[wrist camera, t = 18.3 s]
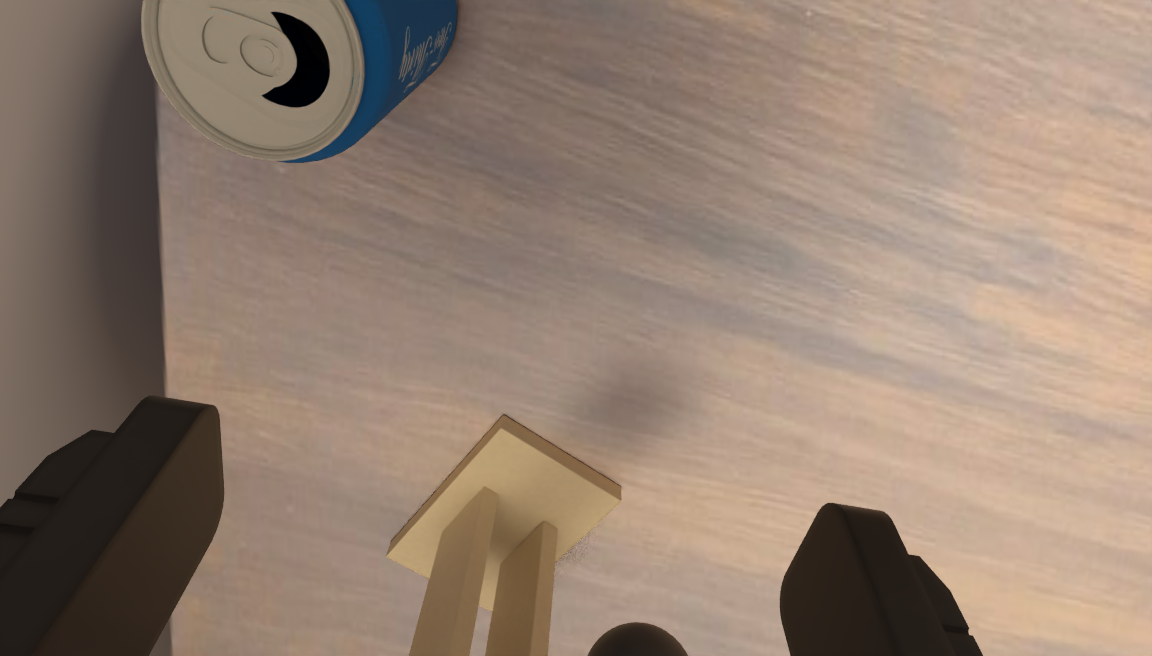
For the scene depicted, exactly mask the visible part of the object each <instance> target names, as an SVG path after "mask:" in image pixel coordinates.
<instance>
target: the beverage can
mask: <svg viewBox="0 0 1152 656" xmlns="http://www.w3.org/2000/svg"><path fill="white" fill-rule="evenodd" d="M456 23H457V3H456V0H143V3H142V12H141V27H142V28H141V29H142V37H143V44H144V48H145V52H146V55H147V59H148V62H149V65H150V67H151V70H152V72H153V75H154V77H155V79H156V81H157V83H158V84H159V86H160V88H161V90H162V91H163V93H164V94H165V96H166V97H167V99H168V100H169V102H170V103H171V105H172V106H173V107H174V108H175V109H176V111H177V112H178V113H179V114H180V115H181V116H182V117H183V118H184V119H185V120H186V121H187V122H188V123H189V124H190V125H191V126H192V127H193V128H194V129H196V130H197V131H198V132H199V133H201V134H202V135H203V136H205V137H206V138H208V139H209V140H211V141H212V142H214V143H215V144H217V145H219V146H221V147H223V148H225V149H227V150H229V151H231V152H234V153H237V154H239V155H242V156H246V157H249V158H253V159H258V160H266V161H279V162H286V163H304V162H311V161H318V160H322V159H325V158H329V157H332V156H334V155H336V154H339V153H341V152H343V151H345V150H346V149H348V148H349V147H351V146H353V145H354V144H355V143H356V142H358V141H359V140H360V139H361V138H362V137H363V136H364V135H366V134H367V133H368V132H369V131H370V130H371V129H372V128H373V127H374V126H375V125H376V124H377V123H378V122H380V121H381V120H382V119H383V118H384V117H385V116H386V115H387V114H388V113H389V112H390V111H391V110H393V109H394V108H395V107H396V106H397V105H398V104H399V103H400V102H401V101H402V100H403V99H404V98H406V97H407V96H408V95H409V94H410V93H411V92H412V91H413V90H414V89H415V88H416V87H417V86H419V85H420V84H421V83H422V82H423V81H424V80H425V79H426V78H427V77H428V76H429V75H430V74H432V73H433V72H434V71H435V70H436V69H437V67H438V66H439V65H440V64H441V63H442V61H443V60H444V58H445V56H446V55H447V53H448V51H449V49H450V46H451V44H452V41H453V38H454V34H455V29H456Z"/></svg>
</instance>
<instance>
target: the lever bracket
mask: <svg viewBox="0 0 1152 656" xmlns="http://www.w3.org/2000/svg"><path fill="white" fill-rule="evenodd" d="M620 502H621V487H620V486H619V485H617V484H615V483H614V482H612V481H611V480H609V479H607V478H606V477H604V476H602V475H601V474H599V473H598V472H596V471H594V470H593V469H591V468H589V467H588V466H586V465H585V464H583V463H581V462H580V461H578V460H576V459H575V458H573V457H572V456H570V455H568V454H567V453H565V452H563V451H562V450H560V449H559V448H557V447H555V446H554V445H552V444H550V443H549V442H547V441H546V440H544V439H542V438H541V437H539V436H537V435H536V434H534V433H533V432H531V431H529V430H528V429H526V428H524V427H523V426H521V425H520V424H518V423H516V422H515V421H513V420H511V419H510V418H508V417H507V416H505V415H503V416H502V417H501V418H500V419H499V420H498V422H497V423H496V424H495V425H494V426H493V427H492V428H491V429H490V431H489V432H488V433H487V434H486V435H485V436H484V437H483V438H482V440H481V441H480V442H479V443H478V444H477V445H476V446H475V448H474V449H473V450H472V451H471V452H470V453H469V454H468V455H467V457H466V458H465V459H464V460H463V461H462V462H461V463H460V464H459V466H458V467H457V468H456V469H455V470H454V471H453V472H452V473H451V475H450V476H449V477H448V478H447V479H446V480H445V481H444V482H443V484H442V485H441V486H440V487H439V488H438V489H437V490H436V492H435V493H434V494H433V495H432V496H431V497H430V498H429V499H428V501H427V502H426V503H425V504H424V505H423V506H422V507H421V508H420V510H419V511H418V512H417V513H416V514H415V515H414V516H413V517H412V519H411V520H410V521H409V522H408V523H407V524H406V525H405V527H404V528H403V529H402V530H401V531H400V532H399V533H398V534H397V536H396V537H395V538H394V539H393V540H392V541H391V543H390V546H389V549H388V552H387V555H386V557H388V558H390V559H391V560H393V561H395V562H397V563H399V564H401V565H403V566H405V567H407V568H409V569H411V570H412V571H414V572H416V573H418V574H420V575H422V576H424V577H426V578H428V579H429V582H428V586H427V590H426V594H425V597H424V601H423V605H422V609H421V612H420V616H419V620H418V624H417V627H416V631H415V635H414V639H413V642H412V646H411V650H410V654H409V656H469V653H470V648H471V643H472V637H473V632H474V627H475V621H476V616H477V611H478V605H479V606H481V607H483V608H485V609H487V610H489V611H491V612H492V617H491V624H490V630H489V636H488V642H487V648H486V654H485V656H548V644H549V631H550V619H551V607H552V595H553V582H554V570H555V563H556V562H557V561H558V560H559V559H560V558H561V557H562V556H563V555H564V554H566V553H567V552H568V551H569V550H570V549H571V548H572V547H573V546H574V545H575V544H576V543H577V542H578V541H579V540H581V539H582V538H583V537H584V536H585V535H586V534H587V533H588V532H589V531H590V530H591V529H592V528H593V527H594V526H596V525H597V524H598V523H599V522H600V521H601V520H602V519H603V518H604V517H605V516H606V515H607V514H608V513H610V512H611V511H612V510H613V509H614V508H615V507H616V506H617V505H618V504H619V503H620Z"/></svg>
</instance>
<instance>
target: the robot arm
mask: <svg viewBox="0 0 1152 656" xmlns="http://www.w3.org/2000/svg"><path fill="white" fill-rule="evenodd" d="M223 502H224V479H223V463H222V447H221V432H220V418H219V413H218V410H217V408H216V407H215V406H214V405H209V404H203V403H197V402H190V401H184V400H178V399H172V398H166V397H159V396H148V397H146V398H144V399H143V400H142V401H141V402H140V403H139V404H138V405H137V406H136V407H135V409H134V410H133V411H132V412H131V414H130V415H129V416H128V417H127V418H126V420H125V421H124V422H123V423H122V424H121V426H120V427H119V428H118V429H117V430H116V432H115V433H110V432H103V431H97V430H91V431H89V432H87V433H86V434H84V435H82V436H81V437H79V438H77V439H75V440H74V441H72V442H70V443H69V444H67V445H65V446H64V447H62V448H60V449H59V450H57V451H55V452H54V453H52V454H50V455H48V456H47V457H46V458H45V459H44V460H43V461H42V463H40V465H39V466H38V467H37V468H36V469H35V470H34V471H33V472H32V473H31V474H30V475H29V477H28V478H27V479H26V480H25V481H24V482H23V483H22V484H21V485H20V486H19V488H18V489H17V490H16V491H15V496H14V498H13V499H8V500H7V501H6V502H5V503H4V504H3V505H2V506H1V507H0V656H149V654H150V652H151V650H152V649H153V647H154V645H155V643H156V641H157V640H158V638H159V636H160V634H161V632H162V630H163V629H164V627H165V625H166V623H167V621H168V620H169V618H170V616H171V614H172V612H173V610H174V609H175V607H176V605H177V603H178V601H179V600H180V598H181V596H182V594H183V592H184V591H185V589H186V587H187V585H188V583H189V581H190V580H191V578H192V576H193V574H194V572H195V571H196V569H197V567H198V565H199V563H200V561H201V560H202V558H203V556H204V554H205V552H206V551H207V549H208V547H209V545H210V543H211V541H212V539H213V537H214V535H215V532H216V530H217V527H218V524H219V521H220V517H221V513H222V508H223ZM780 614H781V620H782V625H783V628H784V632H785V636H786V640H787V644H788V647H789V651H790V655H791V656H983V655H982V653H981V651H980V649H979V647H978V645H977V643H976V641H975V639H974V637H973V636H971V635H969V633H968V630H969V627H968V625H967V623H966V621H965V619H964V617H963V615H962V613H961V611H960V609H959V607H958V605H957V603H956V601H955V599H954V597H953V595H952V593H951V591H950V590H949V589H948V588H947V587H946V585H945V584H944V583H943V582H942V581H941V580H940V579H939V578H938V577H937V575H936V574H935V573H934V572H933V571H932V570H931V569H930V568H929V566H928V565H927V564H926V563H925V562H924V561H923V560H922V559H921V557H920V556H915V555H908V553H907V550H906V548H905V546H904V544H903V542H902V540H901V538H900V536H899V534H898V531H897V529H896V527H895V525H894V523H893V521H892V519H891V518H890V517H889V516H888V515H887V514H886V513H885V512H883V511H879V510H872V509H866V508H860V507H854V506H848V505H841V504H835V503H827V504H825V505H824V506H823V507H822V508H821V509H820V510H819V512H818V513H817V515H816V517H815V519H814V521H813V523H812V525H811V527H810V528H809V530H808V532H807V534H806V536H805V538H804V540H803V542H802V543H801V545H800V547H799V549H798V551H797V553H796V555H795V557H794V558H793V560H792V562H791V564H790V566H789V568H788V570H787V572H786V574H785V576H784V579H783V582H782V586H781V593H780Z"/></svg>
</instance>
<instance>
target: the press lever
mask: <svg viewBox="0 0 1152 656" xmlns="http://www.w3.org/2000/svg"><path fill="white" fill-rule="evenodd" d="M588 656H688V655H687V653H686V651H685V650H684V648H683V647H682V646H681V644H680V643H679V642H678V641H677V640H676V639H675V638H674V637H673V636H672V635H670V634H669V633H668V632H666V631H665V630H663V629H661V628H659V627H657V626H654V625H651V624H647V623H637V622H634V623H627V624H622V625H619V626H617V627H615V628H612V629H611V630H609V631H608V632H606V633H605V634H604V635H602V636H601V637H600V638H599V639H598V640H597V642H596V643H595V644H594V645H593V647H592V648H591V650H590V652H589V654H588Z"/></svg>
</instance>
